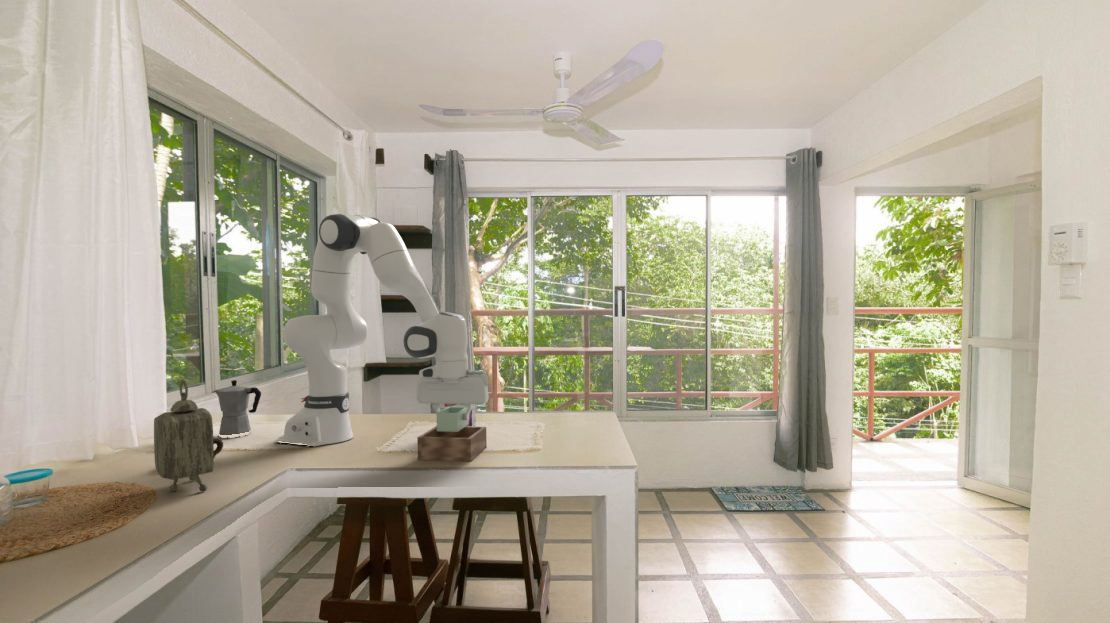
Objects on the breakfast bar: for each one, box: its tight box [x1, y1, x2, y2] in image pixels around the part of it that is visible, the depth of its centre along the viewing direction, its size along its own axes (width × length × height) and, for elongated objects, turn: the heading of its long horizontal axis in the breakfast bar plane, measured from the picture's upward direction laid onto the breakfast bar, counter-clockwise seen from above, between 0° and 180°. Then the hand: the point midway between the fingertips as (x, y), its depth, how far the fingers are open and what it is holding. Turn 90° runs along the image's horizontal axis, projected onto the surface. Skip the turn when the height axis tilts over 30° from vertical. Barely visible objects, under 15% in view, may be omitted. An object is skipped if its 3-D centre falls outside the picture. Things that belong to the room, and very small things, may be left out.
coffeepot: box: [213, 379, 262, 435], centre depth 172 cm, size 15×9×18 cm, turn 88°
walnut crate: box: [417, 425, 488, 463], centre depth 148 cm, size 15×14×6 cm
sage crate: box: [436, 407, 469, 432], centre depth 148 cm, size 6×9×5 cm, turn 170°
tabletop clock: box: [153, 379, 215, 492], centre depth 121 cm, size 14×9×25 cm, turn 45°
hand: (453, 419), depth 148 cm, fingers closed on sage crate, 6 cm apart
